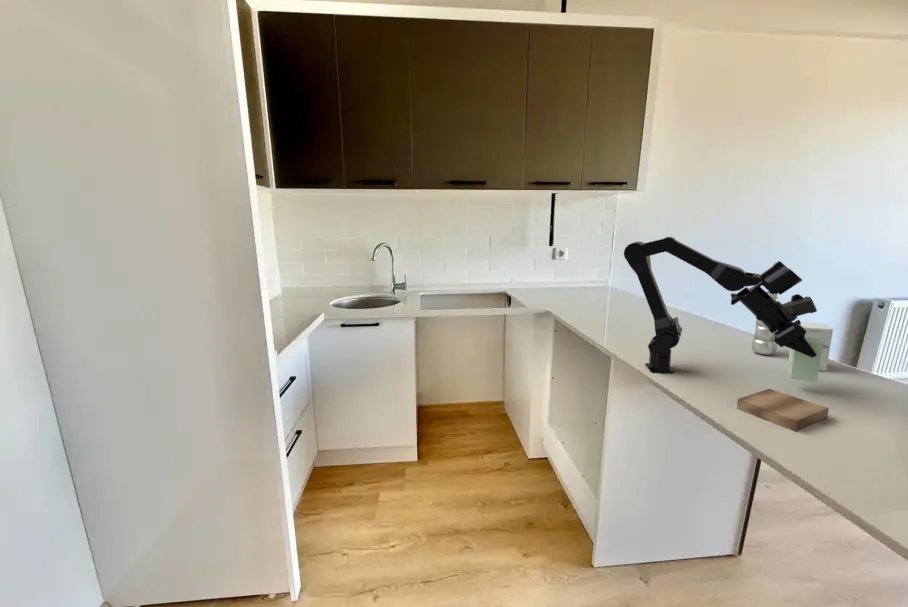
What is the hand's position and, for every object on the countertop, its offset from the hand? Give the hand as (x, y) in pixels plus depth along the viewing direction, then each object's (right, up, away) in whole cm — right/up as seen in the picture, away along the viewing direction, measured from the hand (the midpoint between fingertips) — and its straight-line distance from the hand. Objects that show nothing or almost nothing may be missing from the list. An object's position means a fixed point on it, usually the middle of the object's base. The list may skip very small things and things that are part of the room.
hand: (812, 353), depth 102 cm
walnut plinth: (-15, -13, -9) cm, 21 cm away
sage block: (-1, -6, +2) cm, 7 cm away
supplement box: (+14, -6, +18) cm, 24 cm away
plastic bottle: (+10, -4, +30) cm, 32 cm away
